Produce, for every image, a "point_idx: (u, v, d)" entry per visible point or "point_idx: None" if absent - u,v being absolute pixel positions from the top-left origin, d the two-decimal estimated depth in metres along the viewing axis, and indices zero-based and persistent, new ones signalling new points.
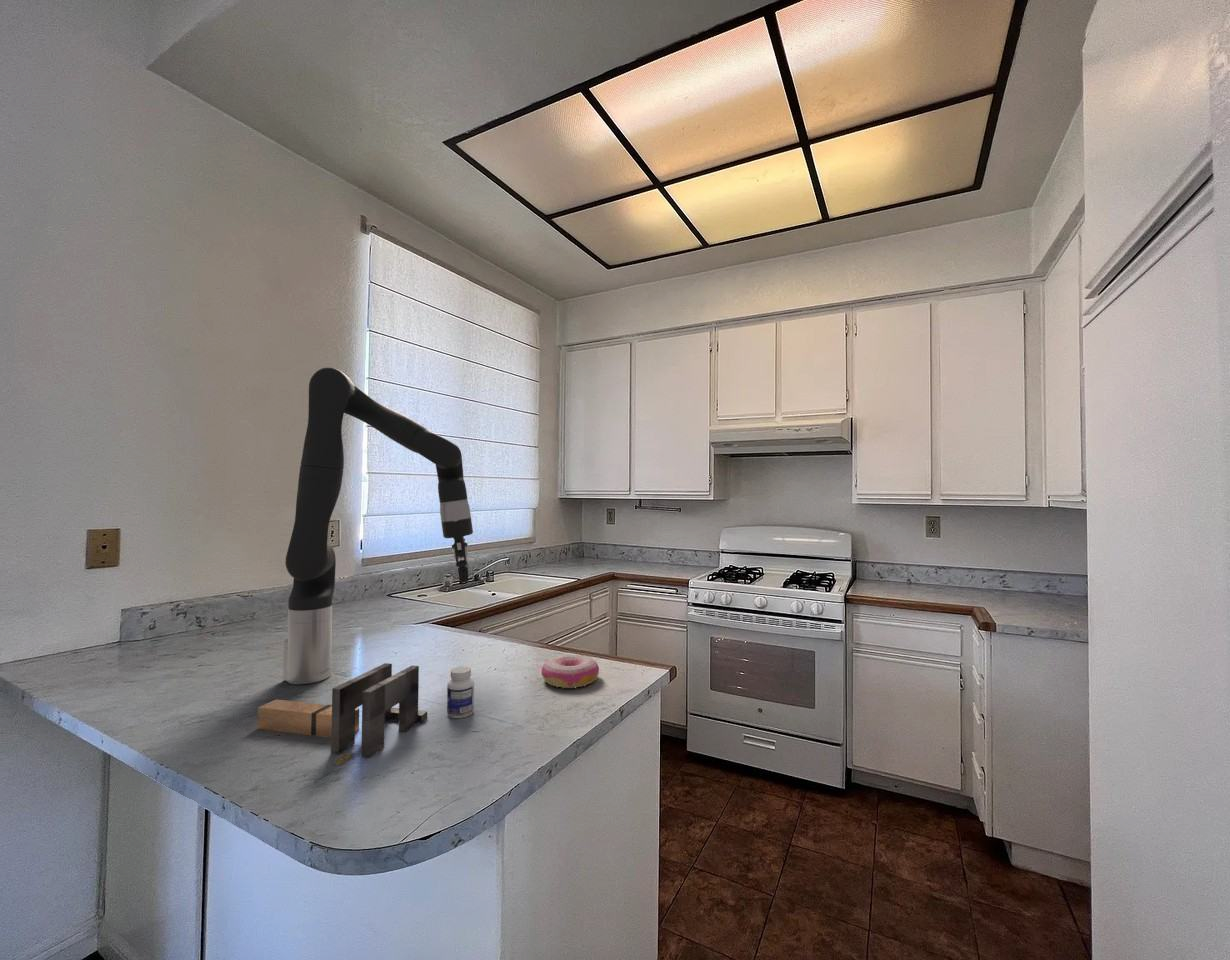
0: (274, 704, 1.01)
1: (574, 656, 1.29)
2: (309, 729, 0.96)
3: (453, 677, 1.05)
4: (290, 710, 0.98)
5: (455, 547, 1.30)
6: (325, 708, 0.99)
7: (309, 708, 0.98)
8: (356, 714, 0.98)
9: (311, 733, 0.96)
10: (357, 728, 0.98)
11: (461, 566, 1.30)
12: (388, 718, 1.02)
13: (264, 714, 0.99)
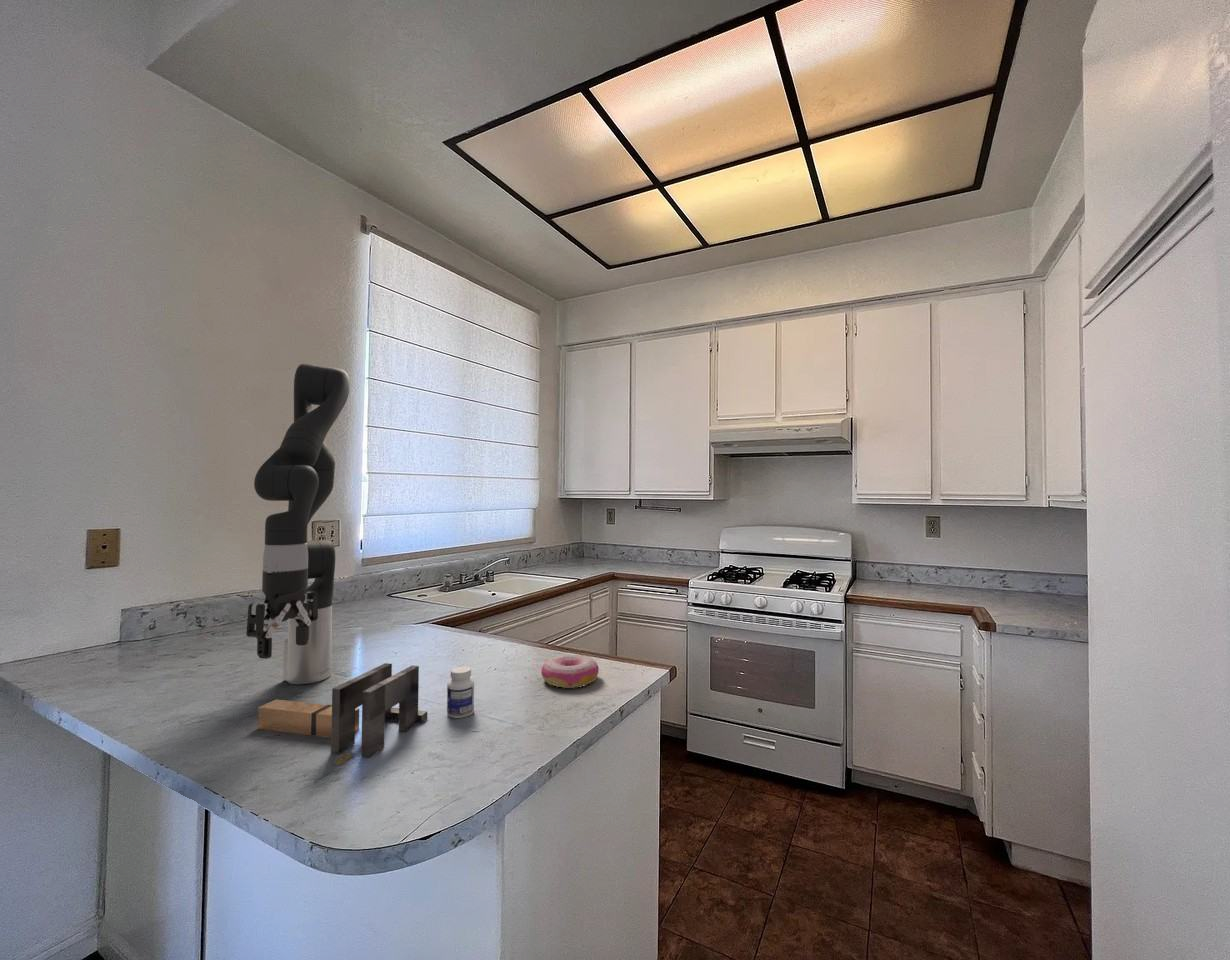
0: (274, 704, 1.01)
1: (574, 656, 1.29)
2: (309, 729, 0.96)
3: (453, 677, 1.05)
4: (290, 710, 0.98)
5: (249, 610, 0.95)
6: (325, 708, 0.99)
7: (309, 708, 0.98)
8: (356, 714, 0.98)
9: (311, 733, 0.96)
10: (357, 728, 0.98)
11: None
12: (388, 718, 1.02)
13: (264, 714, 0.99)
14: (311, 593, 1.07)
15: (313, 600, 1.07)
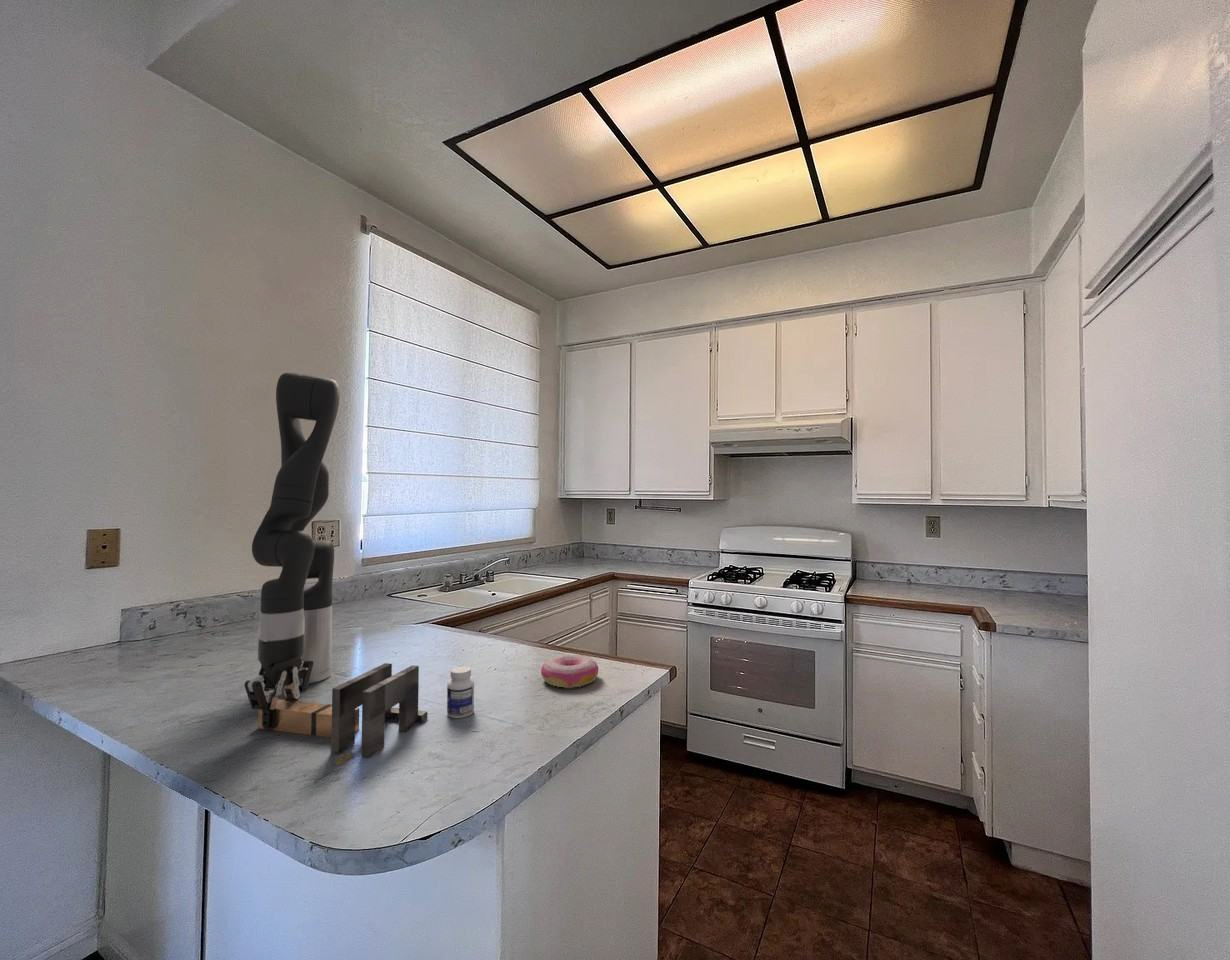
0: None
1: (573, 656, 1.29)
2: (309, 729, 0.97)
3: (453, 677, 1.05)
4: (290, 710, 0.98)
5: (246, 688, 0.94)
6: (325, 707, 0.99)
7: (309, 708, 0.98)
8: (356, 714, 0.98)
9: (311, 733, 0.96)
10: (357, 728, 0.98)
11: None
12: (388, 718, 1.02)
13: None
14: (308, 661, 1.06)
15: (307, 669, 1.05)
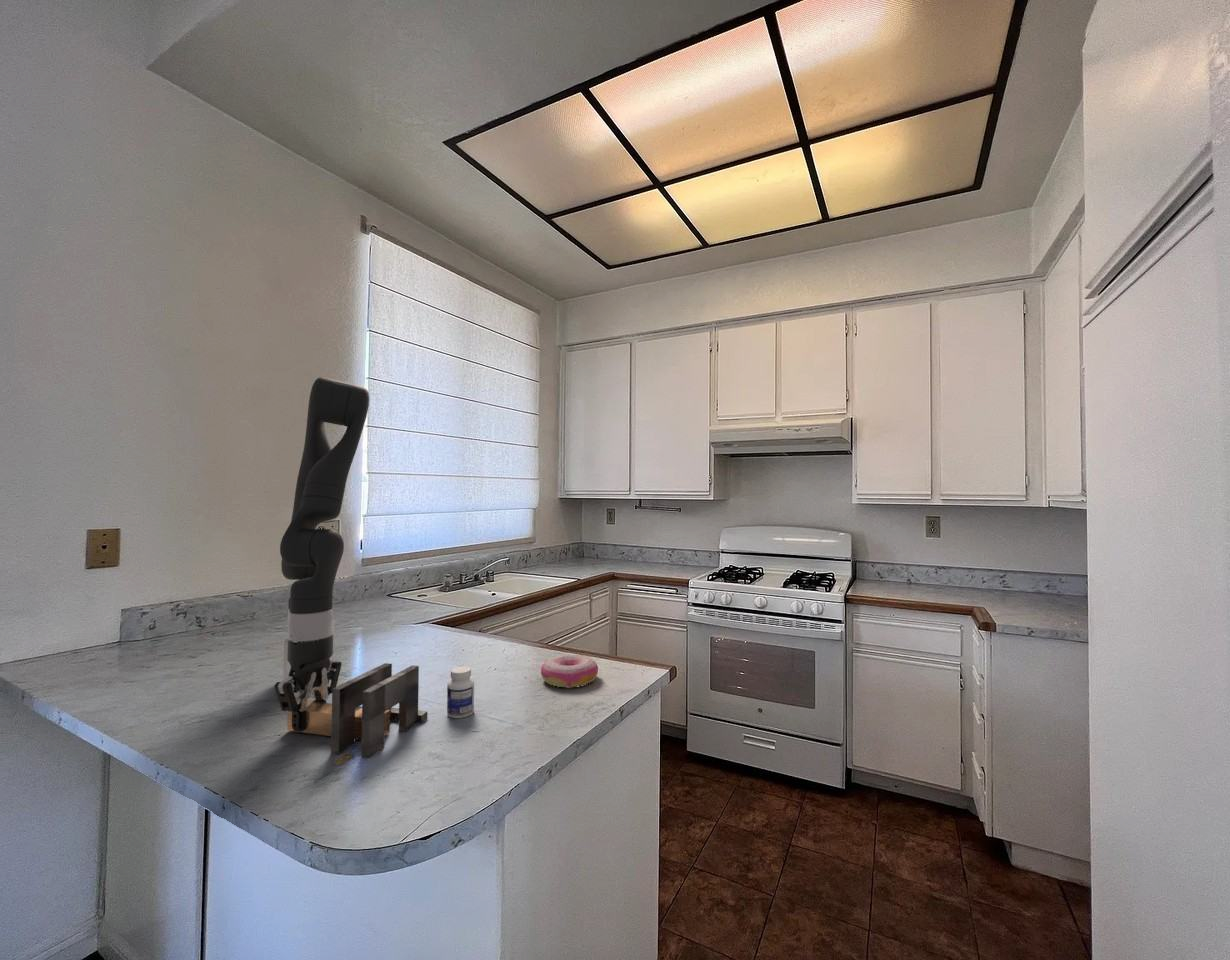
0: None
1: (573, 656, 1.29)
2: None
3: (453, 677, 1.05)
4: (320, 712, 0.96)
5: (276, 690, 0.93)
6: (355, 710, 0.97)
7: None
8: (387, 716, 0.96)
9: None
10: (388, 730, 0.96)
11: None
12: None
13: None
14: (336, 662, 1.04)
15: (336, 670, 1.04)
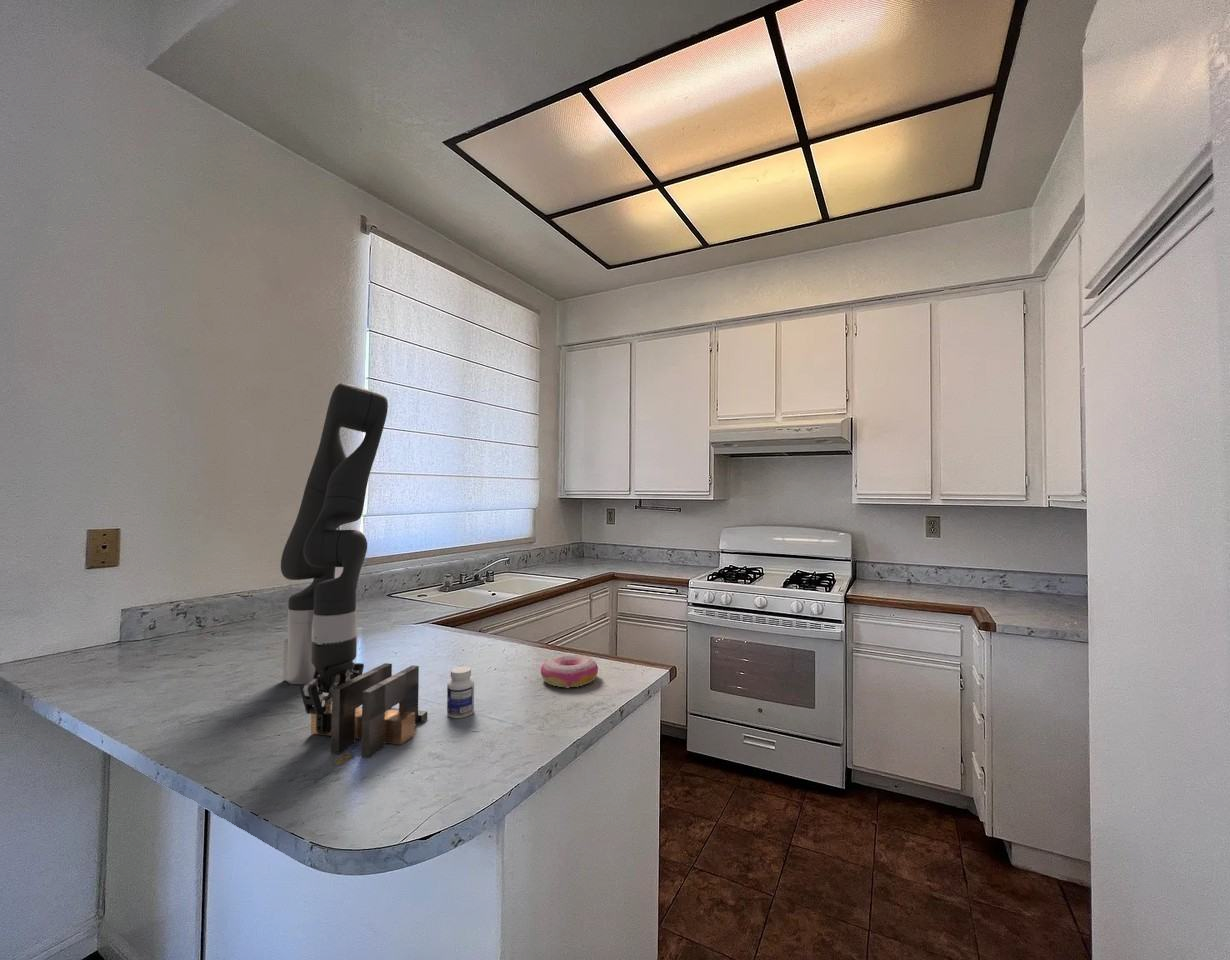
0: None
1: (573, 656, 1.29)
2: None
3: (453, 677, 1.05)
4: None
5: (301, 692, 0.92)
6: None
7: None
8: (412, 718, 0.95)
9: None
10: (413, 733, 0.96)
11: None
12: None
13: None
14: (358, 664, 1.03)
15: (358, 672, 1.03)
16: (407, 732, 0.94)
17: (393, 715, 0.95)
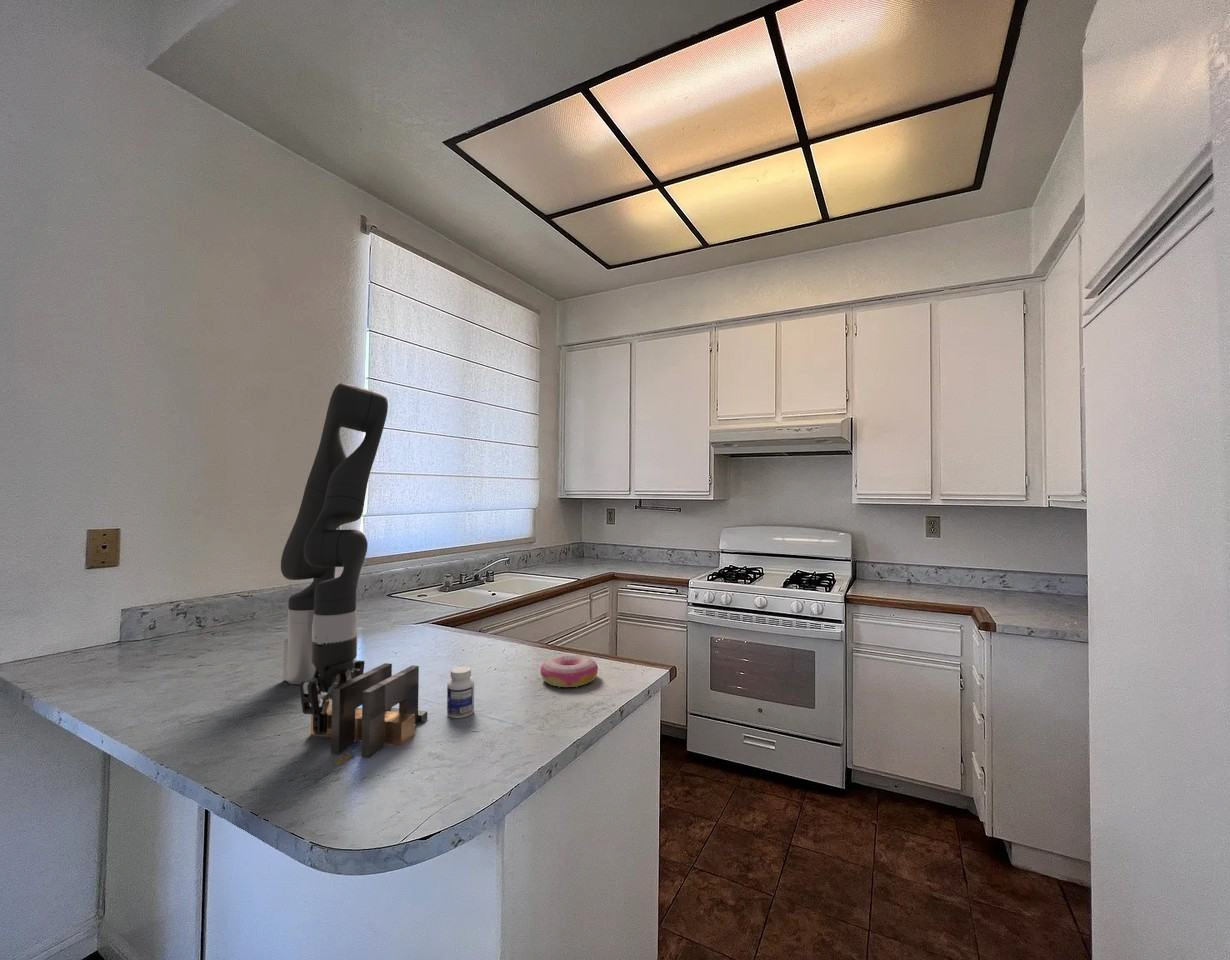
0: (327, 710, 0.98)
1: (573, 655, 1.29)
2: None
3: (453, 677, 1.05)
4: None
5: (301, 689, 0.92)
6: None
7: None
8: (412, 720, 0.96)
9: None
10: (413, 734, 0.96)
11: None
12: None
13: None
14: (359, 662, 1.03)
15: (360, 670, 1.03)
16: (407, 734, 0.94)
17: (393, 717, 0.95)
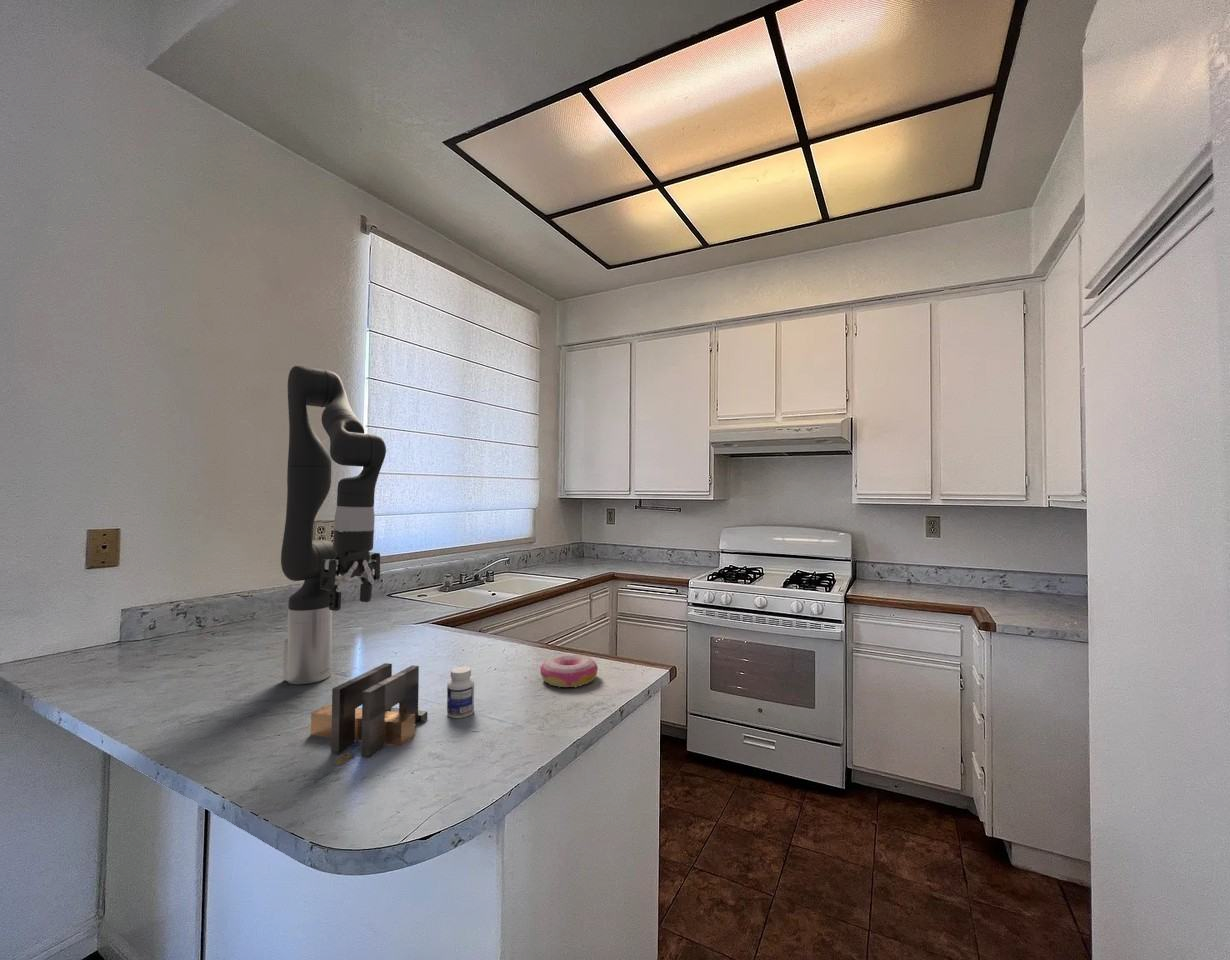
0: (327, 710, 0.98)
1: (573, 655, 1.29)
2: None
3: (453, 677, 1.05)
4: None
5: (323, 565, 1.02)
6: None
7: None
8: (412, 720, 0.96)
9: None
10: (413, 734, 0.96)
11: (327, 590, 1.03)
12: None
13: (318, 720, 0.96)
14: (375, 554, 1.14)
15: (376, 561, 1.14)
16: (407, 734, 0.94)
17: (393, 717, 0.95)
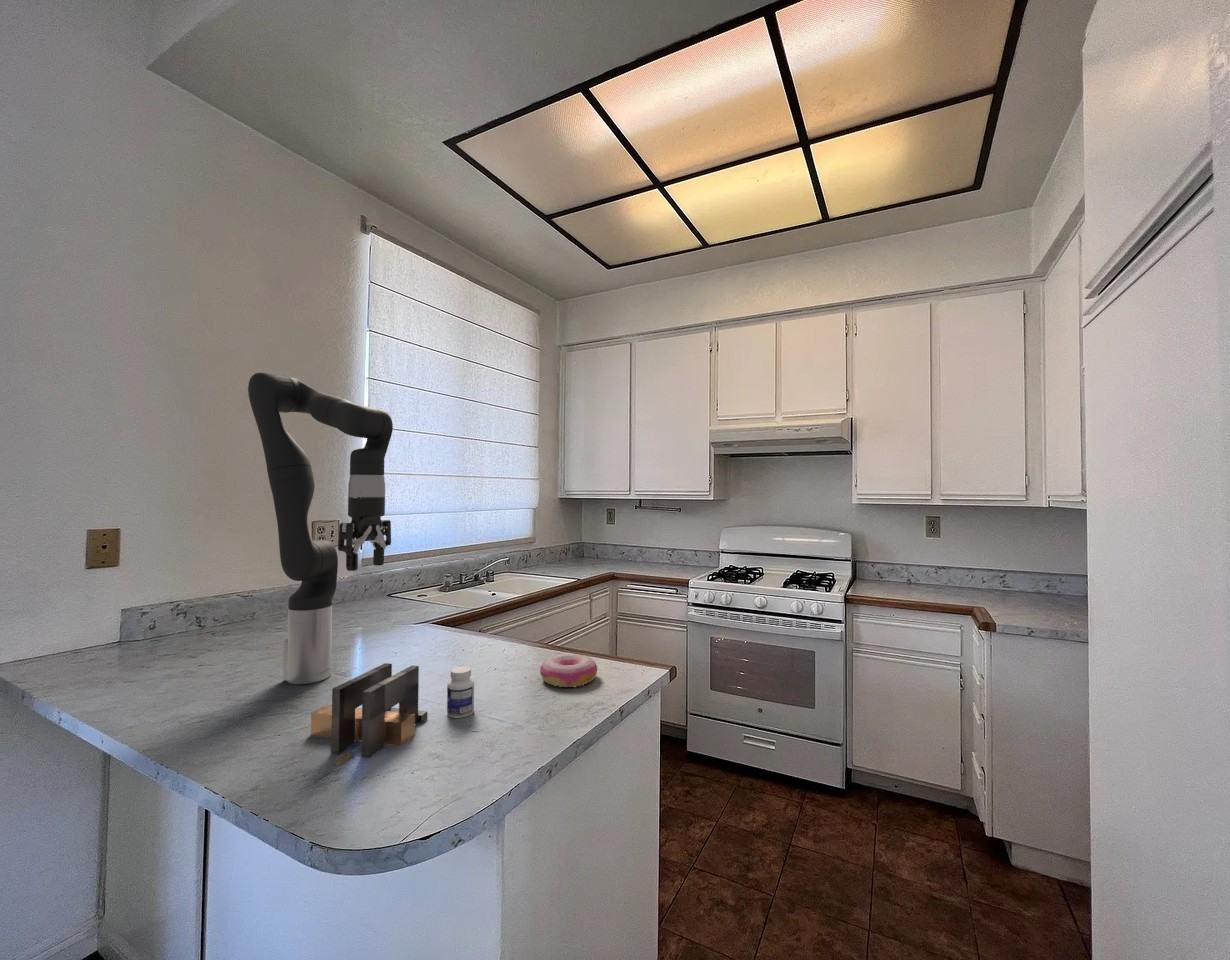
0: (327, 710, 0.98)
1: (572, 655, 1.29)
2: None
3: (453, 677, 1.05)
4: None
5: (340, 528, 1.10)
6: None
7: None
8: (412, 720, 0.96)
9: None
10: (413, 734, 0.96)
11: (345, 551, 1.11)
12: None
13: (318, 720, 0.96)
14: (386, 521, 1.22)
15: (387, 527, 1.22)
16: (407, 734, 0.94)
17: (393, 717, 0.95)
